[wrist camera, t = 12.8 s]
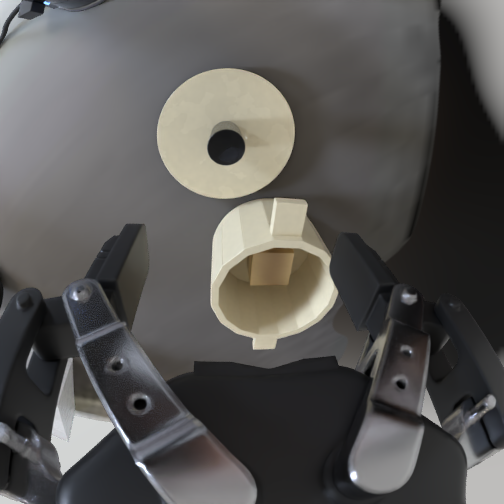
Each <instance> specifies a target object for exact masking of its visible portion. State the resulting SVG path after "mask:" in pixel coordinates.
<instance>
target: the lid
mask: <svg viewBox="0 0 504 504" xmlns="http://www.w3.org/2000/svg"><path fill="white" fill-rule="evenodd" d="M294 138H295V126H294V120H293V115H292V112H291V110H290V107H289V105H288V103H287V101H286V99H285V98H284V97H283V95H282V94H281V93H280V91H279V90H278V89H277V88H276V87H275V86H274V85H272V84H271V83H270V82H269V81H267V80H266V79H264V78H262V77H261V76H259V75H256V74H254V73H252V72H249V71H245V70H241V69H233V68H222V69H214V70H210V71H206V72H203V73H201V74H198V75H196V76H194V77H192V78H190V79H189V80H187V81H186V82H184V83H183V84H182V85H181V86H179V87H178V88H177V89H176V90H175V91H174V92H173V93H172V95H171V96H170V98H169V99H168V100H167V102H166V104H165V106H164V107H163V110H162V112H161V115H160V118H159V122H158V129H157V142H158V148H159V152H160V155H161V158H162V160H163V162H164V164H165V166H166V168H167V169H168V170H169V172H170V173H171V174H172V176H173V177H174V178H175V179H176V180H177V181H178V182H180V183H181V184H182V185H183V186H185V187H186V188H188V189H189V190H191V191H194V192H196V193H198V194H201V195H204V196H207V197H212V198H221V199H225V198H237V197H241V196H245V195H248V194H251V193H254V192H256V191H258V190H260V189H262V188H263V187H265V186H266V185H267V184H269V183H270V182H271V181H272V180H274V179H275V178H276V177H277V176H278V174H279V173H280V172H281V171H282V169H283V168H284V166H285V165H286V163H287V161H288V159H289V157H290V155H291V152H292V149H293V145H294Z"/></svg>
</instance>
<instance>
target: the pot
mask: <svg viewBox="0 0 504 504" xmlns="http://www.w3.org/2000/svg"><path fill="white" fill-rule="evenodd" d="M307 207H308V204H307V203H306V201H305V200H302V199H289V198H274V199H273V198H263V199H256V200H252V201H248V202H246V203H243V204H241V205H239V206H238V207H236V208H234V209H233V210H232V211H230V212H229V213H228V214H227V215H226V216H225V217H224V218H223V220H222V221H221V222H220V224H219V225H218V227H217V229H216V232H215V235H214V237H213V248H212V270H211V307H212V308H213V310H214V312H215V314H216V315H217V317H218V319H219V321H220V322H221V323H222V324H223V325H225V326H226V327H228V328H229V329H231V330H232V331H234V332H235V333H237V334H240V335H244V336H248V337H252V338H253V349H275V346H276V342H277V338H283V337H286V336H290V335H293V334H297V333H300V332H302V331H304V330H305V329H307V328H309V327H310V326H312V325H314V324H315V323H317V322H319V321H320V320H321V319H322V318H323V317H324V316H325V315H326V313H327V312H328V311H329V310H330V309H331V308H332V307H333V305H334V303H335V300H336V298H337V295H338V290H337V288H336V286H335V284H334V282H333V280H332V278H331V276H330V272H329V265H330V261H331V257H332V256H331V254H330V252H329V251H328V249H327V247H326V246H325V244H324V242H323V240H322V239H321V237H320V235H319V234H318V232H317V230H316V229H315V227H314V225H313V224H312V222H311V221H310V220H309V219H308V217H307V216H306V212H307ZM272 248H293V251H294V258H293V263H292V268H291V273H290V278H289V283H288V285H250V283H249V276H248V269H247V256H249V255H252V254H255V253H259V252H262V251H265V250H268V249H272Z"/></svg>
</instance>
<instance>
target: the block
mask: <svg viewBox="0 0 504 504" xmlns="http://www.w3.org/2000/svg"><path fill="white" fill-rule="evenodd" d="M293 258H294V251H293V248H272V249H268V250H265V251H262V252H259V253H255V254H252V255H249V256H247V269H248V276H249V283H250V285H288V283H289V278H290V273H291V268H292V263H293Z"/></svg>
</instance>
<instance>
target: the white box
mask: <svg viewBox="0 0 504 504" xmlns="http://www.w3.org/2000/svg"><path fill="white" fill-rule="evenodd" d="M32 353H33V349H32V348H31V351H30V354H29V356H28V359H27V363H26V369H27V367H28V364H29V361H30V358H31V356H32ZM74 414H75V400H74V383H73V358H68V362H67V365H66V369H65V373H64V376H63V380H62V384H61V389H60V393H59V397H58V402H57V407H56V412H55V417H54V422H53V428H52V435H53V436H55V437H58V438H60V439H63V440H65V441H67V442H69V438H70V437H69V436H70V433H71V427H72V423H73V418H74Z"/></svg>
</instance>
